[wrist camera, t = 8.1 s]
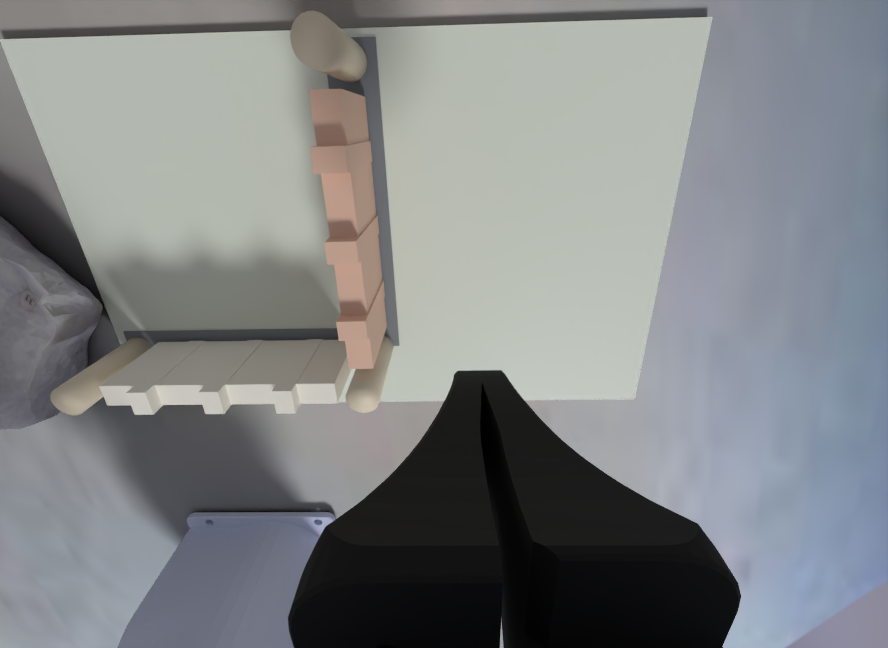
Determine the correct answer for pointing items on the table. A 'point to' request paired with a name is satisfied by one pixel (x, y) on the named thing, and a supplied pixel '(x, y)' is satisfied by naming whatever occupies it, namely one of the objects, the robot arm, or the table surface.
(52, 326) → the stone block
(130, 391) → the fence fixed
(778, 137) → the table surface
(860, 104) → the table surface
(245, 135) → the card
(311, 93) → the fence panel
